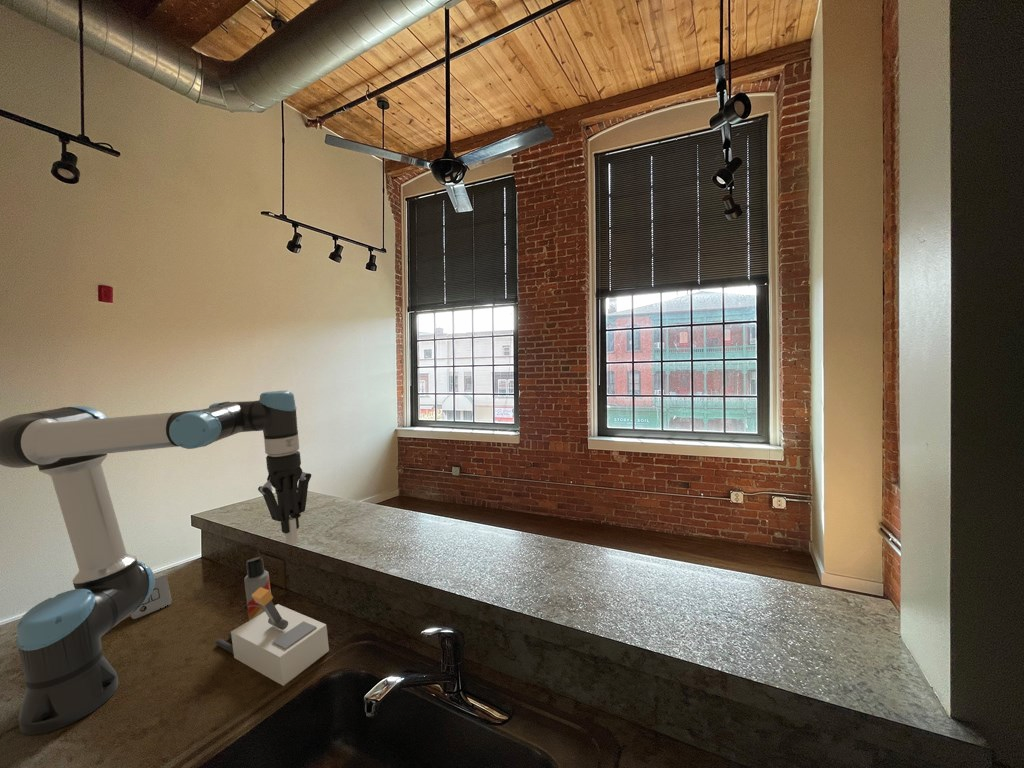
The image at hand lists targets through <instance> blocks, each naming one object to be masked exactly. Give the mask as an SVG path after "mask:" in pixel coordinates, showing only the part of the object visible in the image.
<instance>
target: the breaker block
mask: <svg viewBox="0 0 1024 768" xmlns="http://www.w3.org/2000/svg"><path fill="white" fill-rule="evenodd" d="M274 606H275V607H276V609H277V611H278V612H279V614H280V616H281V617H282V619H284V620H286V621H288V626H287V627H286V628H285V629H284V630H281V629H279V628H277V627H275V626H273V625H271V624H269V623H268V620H269V617H268V615H267V614H266V612H263V613H262V614H260V615H258V616H257V617H255V618H253V619H251V620H250V621H249V620H248V621H247V622H245V623H242V624H241V625H240V626H238V627H236V628H235V629H233V630H231V631H230V632H231V636H232V639H231V642H232V643H231V645H233V652H234V654H233V658H234V659H236V660H237V661H239V662H241V663H243V664H244V665H246V666H248V667H249V668H251V669H253V670H254V671H256V672H258V673H260V674H261V675H263V676H265V677H267V678H269V679H270V680H272V681H274V682H276V683H277V684H278V685H281V686H282V687H284V686H286V684H288V683H289V682H290V681H292V680H294V678H296V677H297V676H299V674H301V673H303V672H304V671H305V670H306V669H308V668H309V667H310V666H311V665H312V664H314V663H315V662H316V661H318V660H320V658H322V657H323V656H324V655H326V654H327V653H328V652H329V651H330V647H329V639H328V638H329V637H328V636H329V635H328V627H327V624H326V623H324V622H321V621H319V620H316V619H314V618H312V617H309V616H308V615H304V614H302V613H300V612H297V611H296V610H293V609H290V608H288V607H286V606H285V605H281V604H279V603H277V604H274Z"/></svg>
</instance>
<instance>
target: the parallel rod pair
mask: <svg viewBox="0 0 1024 768" xmlns="http://www.w3.org/2000/svg"><path fill="white" fill-rule="evenodd" d="M227 637H228V638H230V639H231V640H232V636H231V631H230V632H229V633H228V636H227ZM215 644H216V645H217V646H218V647H220V648H222V649H223V650H225V651H227V652H228V653H231V654H232V655H234V652H233V644H232V643H229V642H227V641H225V640H224V639H222V638H218V639H217V640H216V642H215Z"/></svg>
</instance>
